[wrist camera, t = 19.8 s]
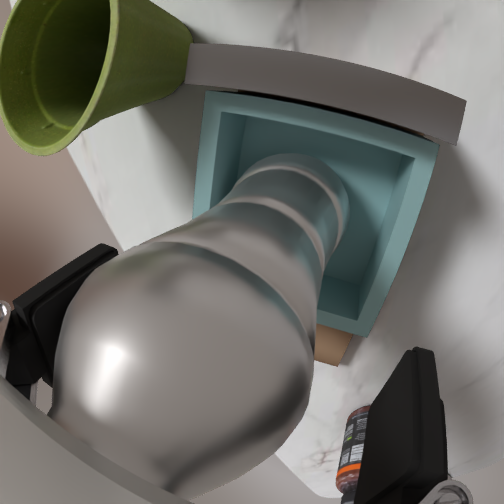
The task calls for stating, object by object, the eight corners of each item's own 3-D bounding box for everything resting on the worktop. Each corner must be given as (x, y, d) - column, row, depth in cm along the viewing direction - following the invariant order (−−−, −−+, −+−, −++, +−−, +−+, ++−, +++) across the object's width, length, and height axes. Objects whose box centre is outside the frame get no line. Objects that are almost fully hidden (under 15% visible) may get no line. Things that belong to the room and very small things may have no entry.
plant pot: (196, -34, 16) (95, -85, 7) (246, 92, 20) (149, 91, 11) (89, 37, 21) (-15, 38, 12) (124, 148, 25) (18, 185, 16)
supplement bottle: (394, 433, 30) (385, 518, 21) (345, 430, 32) (326, 515, 23) (404, 403, 28) (400, 499, 18) (349, 400, 30) (331, 496, 20)
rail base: (339, 355, 27) (324, 431, 20) (216, 315, 30) (172, 378, 23) (426, 101, 17) (466, 100, 9) (250, 61, 19) (189, 43, 12)
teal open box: (368, 293, 22) (366, 337, 18) (219, 248, 25) (188, 281, 20) (420, 135, 16) (439, 144, 12) (240, 92, 19) (205, 90, 15)
